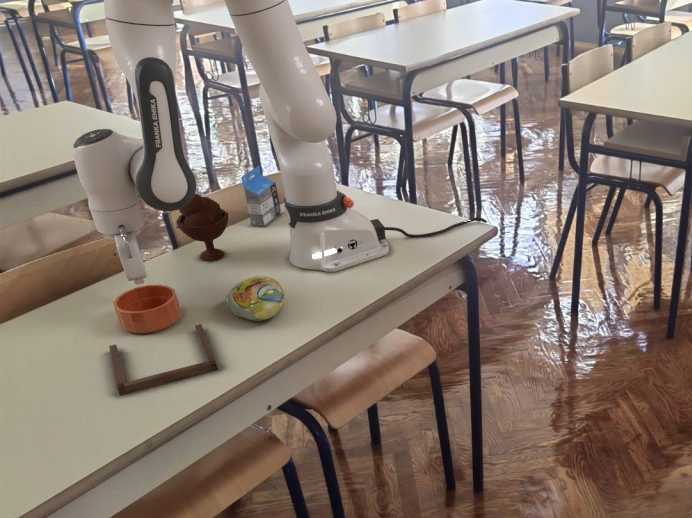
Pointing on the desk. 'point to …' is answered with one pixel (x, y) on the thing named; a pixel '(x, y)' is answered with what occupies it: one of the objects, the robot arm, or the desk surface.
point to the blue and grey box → (261, 198)
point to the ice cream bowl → (204, 224)
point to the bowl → (147, 309)
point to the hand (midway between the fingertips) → (139, 281)
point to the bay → (166, 376)
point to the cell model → (256, 298)
